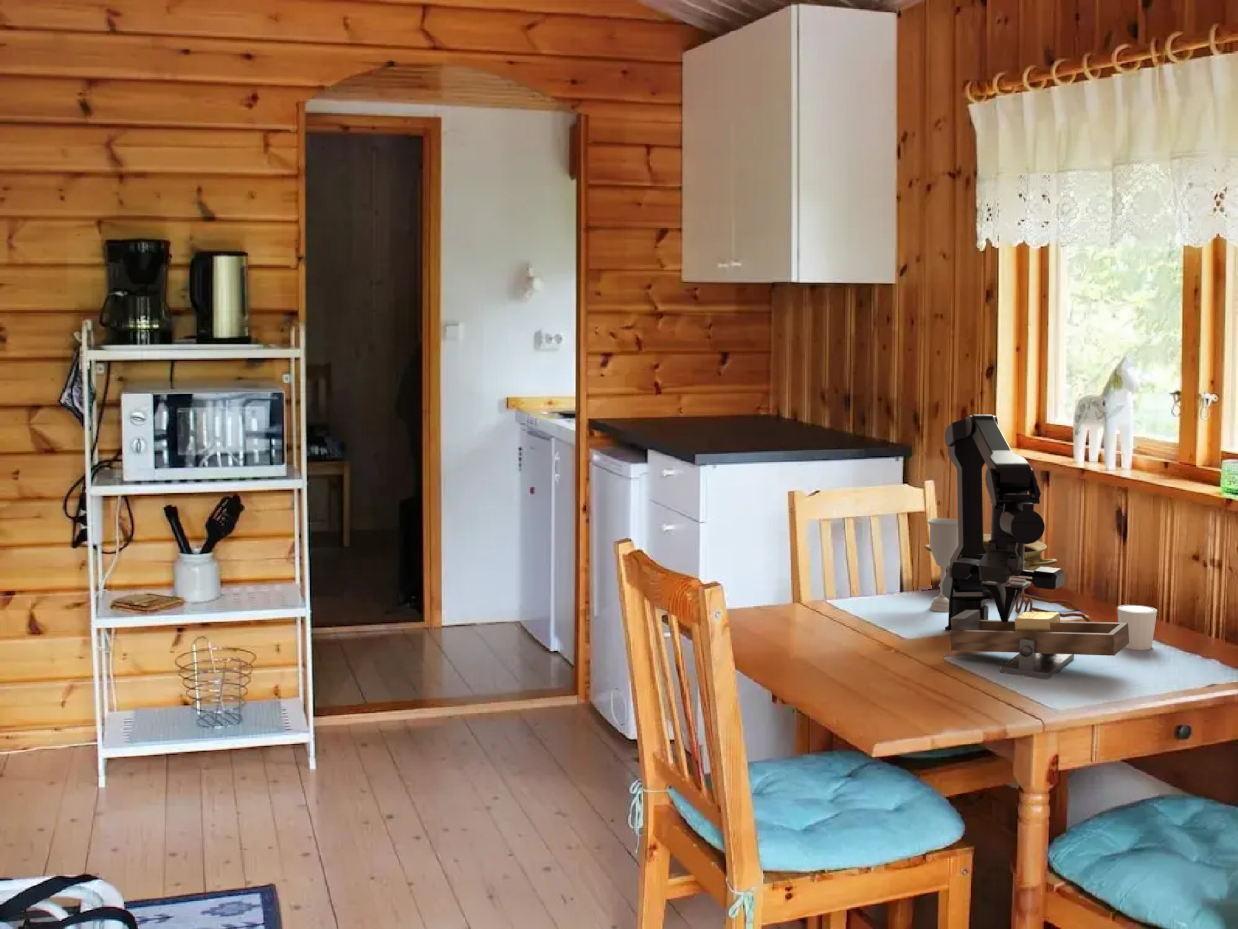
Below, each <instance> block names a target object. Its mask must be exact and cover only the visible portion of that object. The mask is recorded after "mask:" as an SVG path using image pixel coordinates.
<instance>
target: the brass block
mask: <svg viewBox="0 0 1238 929" xmlns="http://www.w3.org/2000/svg"><path fill="white" fill-rule="evenodd" d="M1060 613H1061V612H1059V611H1056V612H1055V611H1052V612H1036V611H1032V612H1029V611H1026V612H1024V611H1023V612H1022V613H1021V614H1019V615H1018V616H1016V617H1015V618H1014V621H1015V630H1016V631H1028V632H1061V625H1060V621H1061V617H1060Z"/></svg>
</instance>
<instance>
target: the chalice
mask: <svg viewBox="0 0 1238 929" xmlns="http://www.w3.org/2000/svg"><path fill="white" fill-rule="evenodd" d="M927 523H928V525H929V539H928V540H929V543H928V545H930V548H931V552H930V553H931V554H932V557H933V559H934V561H935V564H936V565H937V566H938V567H940V574H939V578H940V583H939V584H938V587H939V590H940V592H939V594H938V595H937V596H935V597H934V598H933V599H932V602H931V603H930V604H931V605H930V606H929V610H931V611H934V612H940V613H949V600H948V599H947V598H946V597H945V596H943V589H942V584H943V581H944V579H945V576H946V574H947V572H946V571H945V570H946V567H947V566H950V559H951V557H952V555H953V554H954V552H955V550H956V549H957V547H958V518H957V519H956V518H949V517H948V518H947V517H934V518H929V519H927Z"/></svg>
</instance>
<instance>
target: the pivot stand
mask: <svg viewBox="0 0 1238 929" xmlns="http://www.w3.org/2000/svg"><path fill="white" fill-rule="evenodd" d="M1074 659H1075V654H1044V653H1036V640H1033V639H1026V638H1022V639H1020V648H1019V653H1017V654H1016V655H1015V656H1013V657H1012V658H1010V659H1009V660H1007V661H1006V662H1004V663H1003V664H1002V665H1000V668H999V670H1000V673H1003V674H1008V675H1009V674H1010V675H1016V676H1018V675H1019V676H1022V675H1024V677H1029V678H1031V677H1032V678H1038V679H1043V680H1049V679H1050V678H1051V677H1052V676H1053V675H1055V674H1056V673H1057V672H1058V671H1060V670H1061V669H1062V668H1064V667H1065V666H1066V665H1067V664H1069V663H1070V662H1072V660H1074Z"/></svg>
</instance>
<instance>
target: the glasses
mask: <svg viewBox="0 0 1238 929" xmlns="http://www.w3.org/2000/svg"><path fill="white" fill-rule="evenodd" d="M1020 598H1021V600H1020ZM1033 600H1034V601H1038V602H1043V603H1048V604H1057V603H1062V604H1067V605H1068V606H1070V607H1071V608H1072V609H1073V610H1075V611H1076V610H1081V609H1080V608H1079V607H1077V606H1076V605H1075V604H1074V603H1072V602H1071V601H1070V600H1068V599H1067V600H1065V599H1047V598H1043V597H1038V596H1033V595H1028V594H1026V593H1025V589H1024V590H1023V591H1022V592H1021V594H1020V596H1019V597H1018V599H1017V601H1016V604H1015V606H1014V609H1015V612H1016V613H1020V612H1021V611H1022V608H1023V605H1024V604H1025V605H1024V609H1023V613H1024V612H1053V611H1051V610H1047V609H1041V608H1037V607H1033V605H1034V604H1033ZM1019 601H1020V604H1019ZM1028 606H1029V610H1028ZM1069 617H1078V618H1079V617H1081V618H1082V619H1083V620H1084V622H1092V620H1090V619H1089V618H1088V617H1087V616H1086V615H1085V614H1084V613H1077V612H1071V613H1061V612H1060V618H1069Z"/></svg>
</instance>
